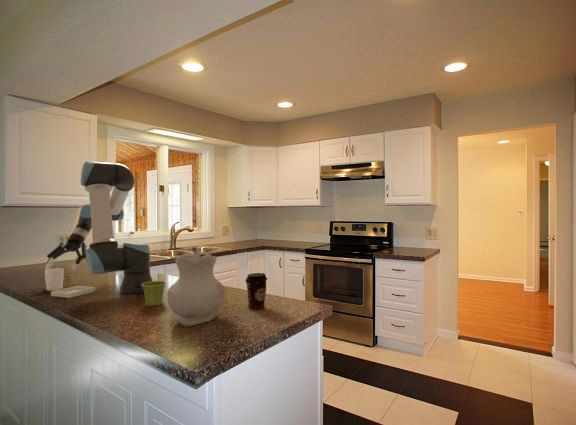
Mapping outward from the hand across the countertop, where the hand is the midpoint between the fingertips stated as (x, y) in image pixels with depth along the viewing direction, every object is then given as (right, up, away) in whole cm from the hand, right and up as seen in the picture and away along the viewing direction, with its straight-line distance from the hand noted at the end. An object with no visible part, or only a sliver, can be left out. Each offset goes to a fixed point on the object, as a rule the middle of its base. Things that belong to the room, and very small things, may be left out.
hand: (59, 268), depth 172 cm
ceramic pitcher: (+87, -8, -55) cm, 103 cm away
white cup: (+1, -10, -5) cm, 11 cm away
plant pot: (+64, -9, -36) cm, 74 cm away
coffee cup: (+107, -8, -44) cm, 116 cm away
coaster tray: (+17, -9, -15) cm, 25 cm away
